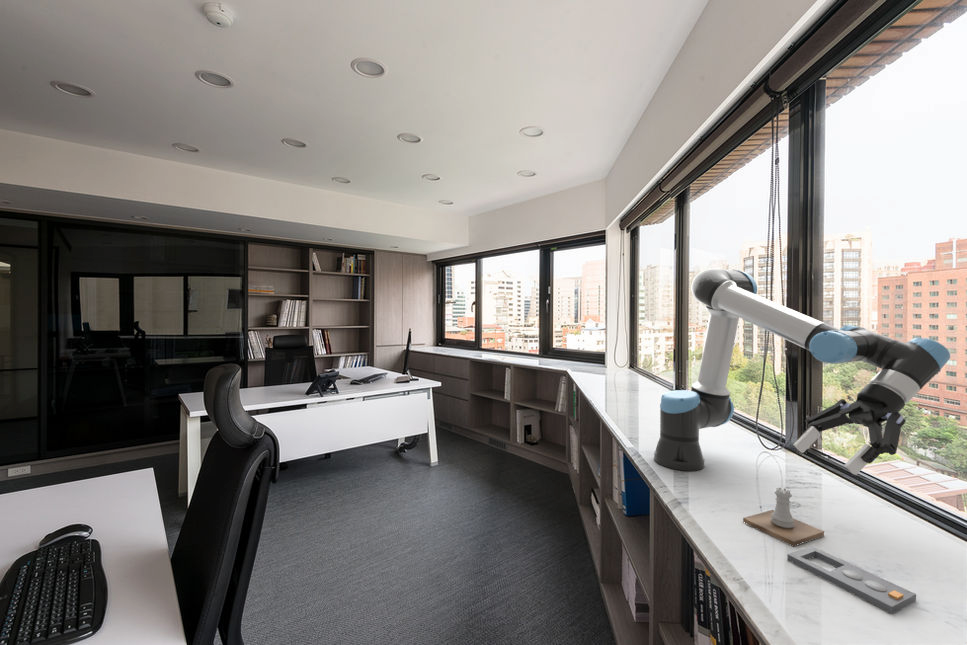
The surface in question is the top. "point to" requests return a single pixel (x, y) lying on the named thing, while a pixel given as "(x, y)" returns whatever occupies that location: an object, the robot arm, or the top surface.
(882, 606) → the gray slotted board
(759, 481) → the top surface
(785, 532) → the walnut pad
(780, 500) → the rook chess piece
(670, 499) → the top surface
